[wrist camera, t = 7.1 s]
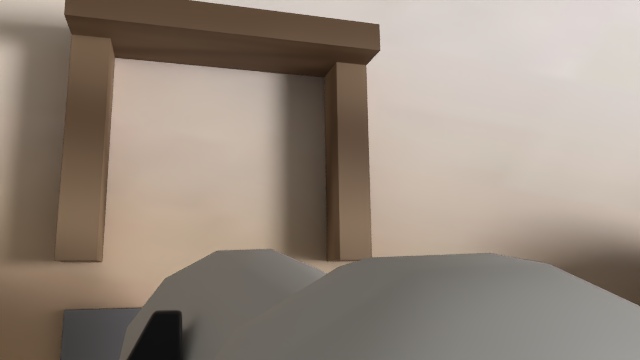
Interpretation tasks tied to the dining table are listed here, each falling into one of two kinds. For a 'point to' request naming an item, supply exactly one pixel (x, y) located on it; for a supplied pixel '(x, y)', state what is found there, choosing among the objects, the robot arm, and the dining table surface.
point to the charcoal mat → (95, 333)
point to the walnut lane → (217, 51)
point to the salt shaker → (391, 310)
